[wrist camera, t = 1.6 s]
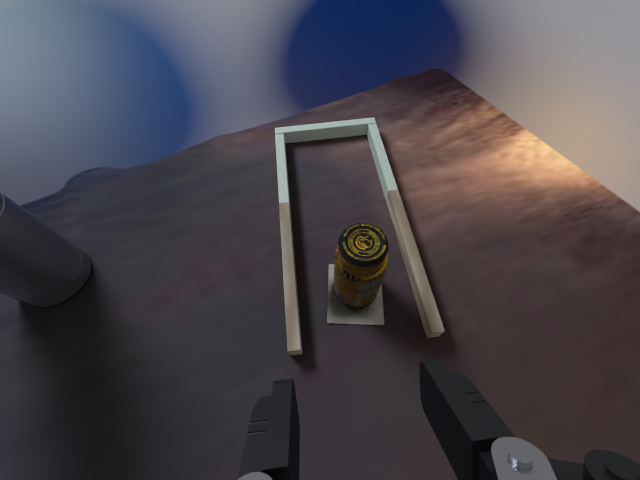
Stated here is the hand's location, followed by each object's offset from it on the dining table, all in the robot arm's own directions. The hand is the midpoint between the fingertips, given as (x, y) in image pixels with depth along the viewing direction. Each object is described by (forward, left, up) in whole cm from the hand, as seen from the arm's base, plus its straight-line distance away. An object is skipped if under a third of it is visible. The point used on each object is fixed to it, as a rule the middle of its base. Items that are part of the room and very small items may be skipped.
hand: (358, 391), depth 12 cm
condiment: (+4, +14, -26) cm, 30 cm away
